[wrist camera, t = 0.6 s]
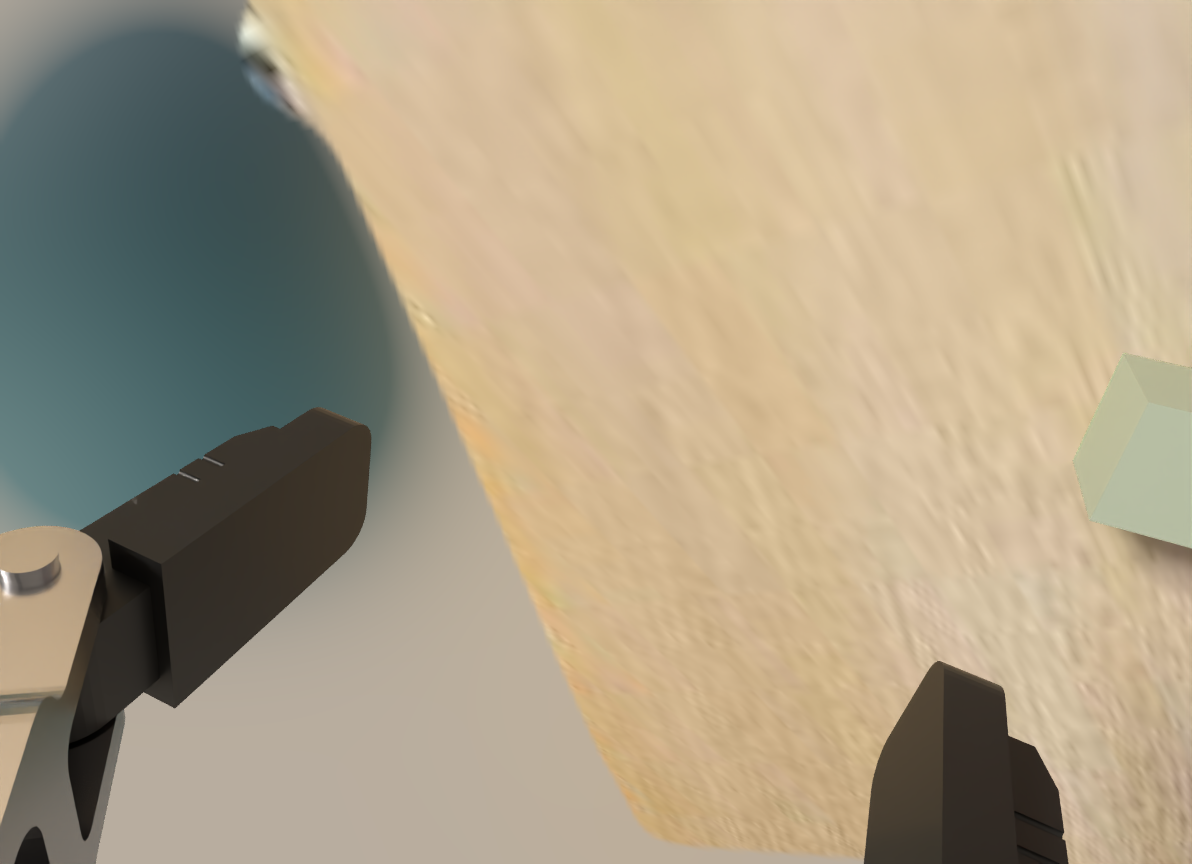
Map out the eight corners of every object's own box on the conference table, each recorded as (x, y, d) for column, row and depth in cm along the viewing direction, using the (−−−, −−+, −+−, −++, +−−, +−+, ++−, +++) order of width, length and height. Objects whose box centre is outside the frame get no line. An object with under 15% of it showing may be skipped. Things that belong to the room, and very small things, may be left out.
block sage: (1122, 351, 33) (1148, 402, 29) (1266, 383, 31) (1315, 441, 27) (1072, 459, 35) (1089, 520, 31) (1204, 493, 34) (1240, 561, 30)
